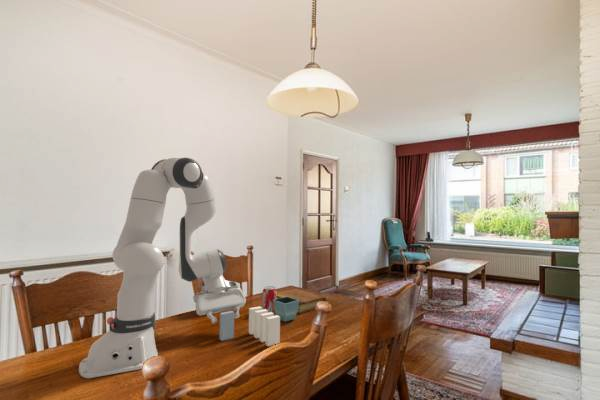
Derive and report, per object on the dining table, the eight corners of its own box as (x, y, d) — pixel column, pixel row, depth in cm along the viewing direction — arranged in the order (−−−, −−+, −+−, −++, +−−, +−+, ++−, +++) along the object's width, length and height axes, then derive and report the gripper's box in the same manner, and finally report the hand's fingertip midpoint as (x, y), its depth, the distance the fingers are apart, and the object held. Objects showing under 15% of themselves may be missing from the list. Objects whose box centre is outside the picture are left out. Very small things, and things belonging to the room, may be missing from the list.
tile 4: (268, 346, 118) (268, 319, 119) (265, 344, 120) (265, 317, 120) (279, 343, 121) (280, 316, 122) (276, 341, 123) (277, 315, 123)
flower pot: (272, 319, 148) (272, 299, 148) (287, 315, 154) (287, 296, 154) (284, 324, 141) (284, 303, 142) (299, 320, 147) (299, 300, 148)
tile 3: (262, 342, 122) (262, 315, 122) (259, 340, 124) (260, 314, 124) (273, 339, 125) (273, 313, 125) (270, 337, 127) (271, 312, 127)
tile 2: (256, 338, 126) (256, 312, 126) (253, 336, 127) (254, 311, 128) (267, 335, 129) (267, 310, 129) (264, 334, 130) (265, 309, 131)
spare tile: (221, 340, 123) (222, 314, 123) (219, 339, 125) (220, 313, 125) (233, 337, 126) (234, 312, 126) (231, 336, 128) (232, 310, 128)
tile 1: (250, 334, 129) (251, 309, 130) (248, 333, 131) (249, 308, 131) (261, 332, 132) (262, 307, 133) (259, 330, 134) (259, 306, 134)
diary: (326, 307, 168) (326, 296, 168) (299, 315, 156) (300, 303, 156) (296, 298, 185) (296, 287, 185) (270, 304, 172) (270, 293, 173)
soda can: (274, 315, 153) (274, 289, 154) (260, 314, 155) (260, 288, 155) (278, 310, 160) (278, 286, 161) (264, 309, 162) (264, 285, 162)
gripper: (194, 288, 127) (202, 321, 119) (241, 282, 139) (252, 310, 131) (190, 297, 130) (198, 329, 122) (236, 290, 142) (246, 318, 134)
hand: (226, 319), depth 126 cm, fingers open, 8 cm apart
